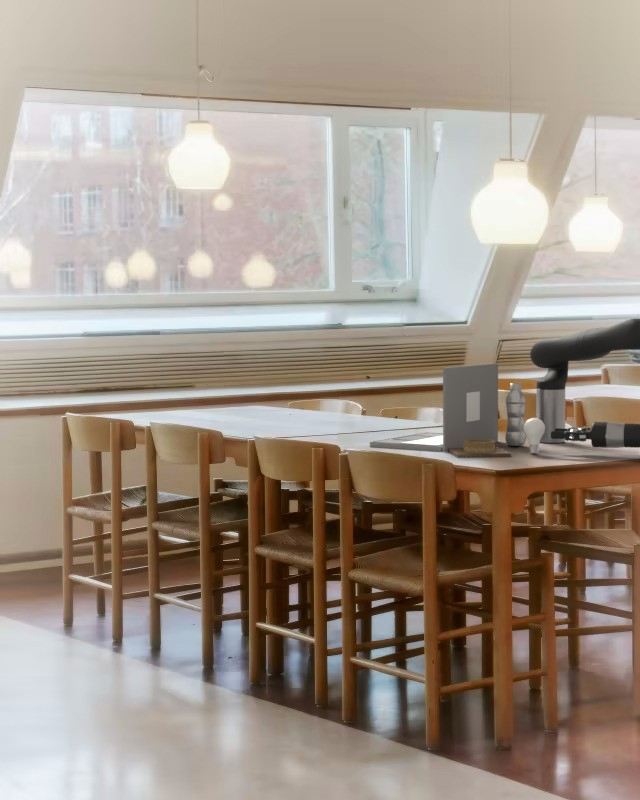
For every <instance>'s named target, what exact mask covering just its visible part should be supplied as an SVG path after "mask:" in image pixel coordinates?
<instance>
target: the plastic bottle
mask: <svg viewBox="0 0 640 800" xmlns="http://www.w3.org/2000/svg"><path fill="white" fill-rule="evenodd" d="M522 386H523V385H522V383H521V382H510V384H509V389H510V391H509V393H508V394H507V396H506V398H505V404H506V405H505V406H506V407H505V408H506V416H507V419H506V420H507V423H506V432H505V443H506V445H507V446H509V447H513V446H515V448H517V447H516V446H518V447H523V446H524V445H525V444H526V441H527V436H526V435H525V433H524V430H523V427H524V424H525V414H526V413H525V411H526V405H527V399H526V396H525V394H524V393H523V391H522V389H523V387H522Z"/></svg>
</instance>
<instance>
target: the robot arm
mask: <svg viewBox="0 0 640 800" xmlns="http://www.w3.org/2000/svg"><path fill="white" fill-rule="evenodd" d="M623 350H624V351H625V350H628V351H629V350H631V351H640V318H630V319H626V320H624V321H622V322H619V323H616V324H614V325H611V326H608V327H607V326H606V327H598V328H597V327H596V328H590V329H586V330H583V331H579V332H576V333H573V334H570V335H566V336H564V337H561V338H555V339H540V340H537V341H536V342H535V343H534V344H533V346H532V347H531V349H530V352H529V356H530V360H531V362H532V363H533V364H534V366H536V367H538V368H541V369H547V373H546V374H545V375H543V376H542V377H541V378H539V379H537V380H536V406H535V407H536V408H535V409H536V413H535V415H536V417H535V418H538V419H540V420H541V421H542V422H543V423H544V425H545V432H544V434H543V436H542V437H541V439H540V443H547V444H554V443H555V444H557V443H559V444H561V443H565V442H566V441H567V442H568V441H571V442H583V443H584V442H586V441H587V440H591V442H590V443H591V446H592V448H600V449H601V448H602V449H603V448H604V449H606V448H607V449H608V448H610V449H619V448H620V449H621V448H629V449H631V448H633V449H634V448H640V423H626V422H625V423H623V422H618V421H617V422H616V421H615V422H613V421H612V422H611V421H593V422H592V424H591V428H590V427H586V426H581V427H577V426H573V427H567V428H566V385H567V381H568V379H569V364H570V363H569V362H581V361H590V360H591V361H592V360H595V359H597V360H598V359H600V358H603V357H606V356H607V355H608V354H609V353H611V352H613V351H623Z"/></svg>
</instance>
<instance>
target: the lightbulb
mask: <svg viewBox="0 0 640 800" xmlns="http://www.w3.org/2000/svg"><path fill="white" fill-rule="evenodd" d="M523 430H524V433H525V435H526V439H527V441H528V444H529V453H530V454H532V455H537V454H539V448H540V447H539V446H540V443H541V442H540V439H541V437H542V436H543V434H544V432H545V425H544V423H543V422H542V421H541V420H540V419H538V418H536V417H530V418H528V419H527V420H526V421H524V427H523Z"/></svg>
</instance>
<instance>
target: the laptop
mask: <svg viewBox="0 0 640 800" xmlns="http://www.w3.org/2000/svg"><path fill="white" fill-rule="evenodd" d="M470 439H488V440H494V441H495V443H498V442H499V363H498V362H493V363H482V364H473V365H471V364H470V365H461V366H459V365H458V366H449V367H443V368H442V433H441V432H440V433H438V432H421V433H416V434H409V435H403V436H398V437H391V438H386V439H381V440H373V441H370V442H369V448H381V449H393V450H394V449H395V450H406V451H407V450H409V451H423V452H424V451H425V452H435V453H436V452H437V453H439V452H440V453H441V452H442V451H443V453H447V451H448V452H449V448H464V440H470Z"/></svg>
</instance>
